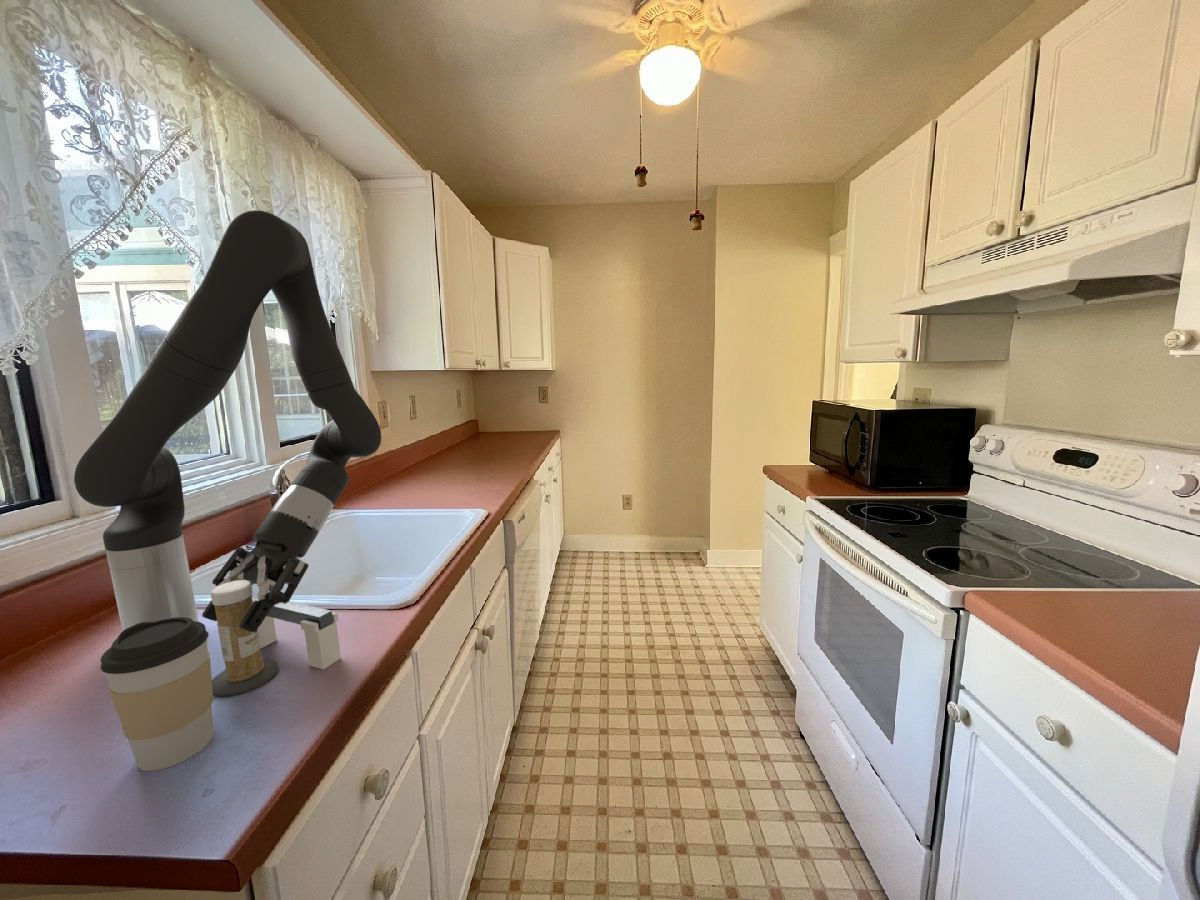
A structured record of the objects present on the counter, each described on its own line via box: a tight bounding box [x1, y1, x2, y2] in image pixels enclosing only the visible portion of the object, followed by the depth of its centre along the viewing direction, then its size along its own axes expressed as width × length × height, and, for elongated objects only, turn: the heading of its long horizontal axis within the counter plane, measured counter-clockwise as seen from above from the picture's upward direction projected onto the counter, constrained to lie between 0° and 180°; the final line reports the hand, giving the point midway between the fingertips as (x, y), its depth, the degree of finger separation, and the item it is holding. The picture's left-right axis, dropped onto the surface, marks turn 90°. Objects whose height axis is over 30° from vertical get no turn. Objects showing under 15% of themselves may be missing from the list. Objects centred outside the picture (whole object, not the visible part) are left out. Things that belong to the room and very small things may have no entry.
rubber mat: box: [212, 657, 279, 698], centre depth 69 cm, size 8×8×1 cm
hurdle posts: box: [258, 611, 342, 670], centre depth 75 cm, size 18×4×7 cm, turn 67°
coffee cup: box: [99, 617, 215, 772], centre depth 55 cm, size 9×9×15 cm
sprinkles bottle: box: [210, 580, 264, 682], centre depth 68 cm, size 5×5×14 cm
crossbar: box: [252, 592, 333, 630], centre depth 75 cm, size 18×2×2 cm, turn 67°
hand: (227, 624), depth 67 cm, fingers open, 8 cm apart
